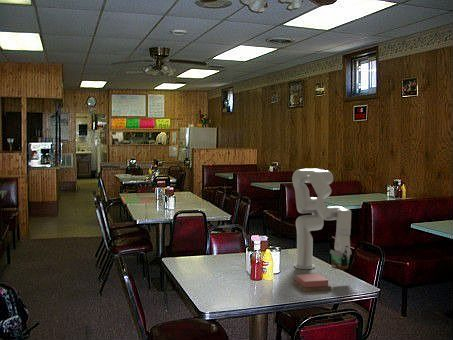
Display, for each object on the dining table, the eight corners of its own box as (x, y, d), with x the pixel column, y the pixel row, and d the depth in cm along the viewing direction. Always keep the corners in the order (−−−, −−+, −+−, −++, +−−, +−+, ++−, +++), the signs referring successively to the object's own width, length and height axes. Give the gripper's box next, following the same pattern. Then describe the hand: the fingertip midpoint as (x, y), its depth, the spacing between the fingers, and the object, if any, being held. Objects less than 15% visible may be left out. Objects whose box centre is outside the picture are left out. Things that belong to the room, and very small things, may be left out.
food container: (334, 270, 260) (335, 252, 259) (329, 267, 266) (330, 249, 265) (355, 269, 264) (356, 251, 263) (349, 266, 270) (350, 248, 269)
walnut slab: (293, 285, 264) (293, 279, 264) (319, 283, 267) (319, 278, 267) (303, 293, 249) (303, 288, 249) (330, 292, 253) (331, 286, 252)
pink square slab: (295, 280, 263) (295, 274, 263) (318, 278, 266) (318, 273, 265) (304, 287, 250) (304, 281, 250) (328, 285, 253) (328, 280, 253)
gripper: (330, 228, 271) (328, 260, 273) (343, 235, 254) (342, 269, 256) (342, 227, 273) (341, 259, 274) (357, 235, 256) (355, 268, 258)
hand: (341, 263), depth 265 cm, fingers closed on food container, 5 cm apart
